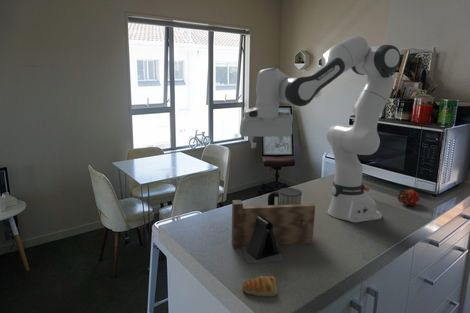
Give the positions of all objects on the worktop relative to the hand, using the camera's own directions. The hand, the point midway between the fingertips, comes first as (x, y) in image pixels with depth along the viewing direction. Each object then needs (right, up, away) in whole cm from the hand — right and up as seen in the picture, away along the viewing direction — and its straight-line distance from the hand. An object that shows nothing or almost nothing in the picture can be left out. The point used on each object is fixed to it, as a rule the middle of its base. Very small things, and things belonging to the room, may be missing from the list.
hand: (265, 147), depth 132 cm
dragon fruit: (+71, -27, +31) cm, 81 cm away
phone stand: (-2, -36, -18) cm, 40 cm away
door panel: (+2, -34, -11) cm, 36 cm away
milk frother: (+6, -32, +2) cm, 33 cm away
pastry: (-4, -41, -37) cm, 56 cm away
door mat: (-3, -36, -18) cm, 40 cm away
